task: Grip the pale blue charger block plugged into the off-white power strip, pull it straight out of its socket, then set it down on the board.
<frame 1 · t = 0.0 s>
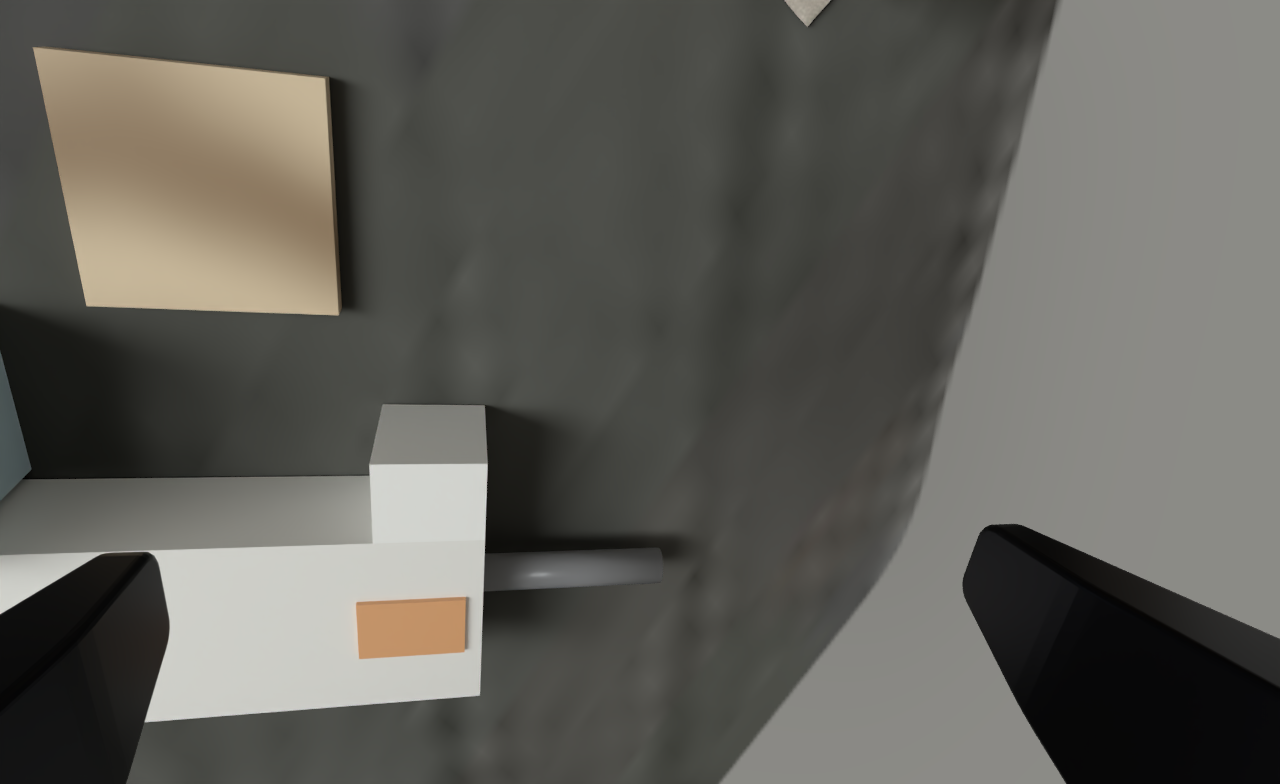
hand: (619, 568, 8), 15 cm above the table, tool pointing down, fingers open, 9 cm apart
power strip: (167, 560, 23), on the table
board: (209, 190, 19), on the table
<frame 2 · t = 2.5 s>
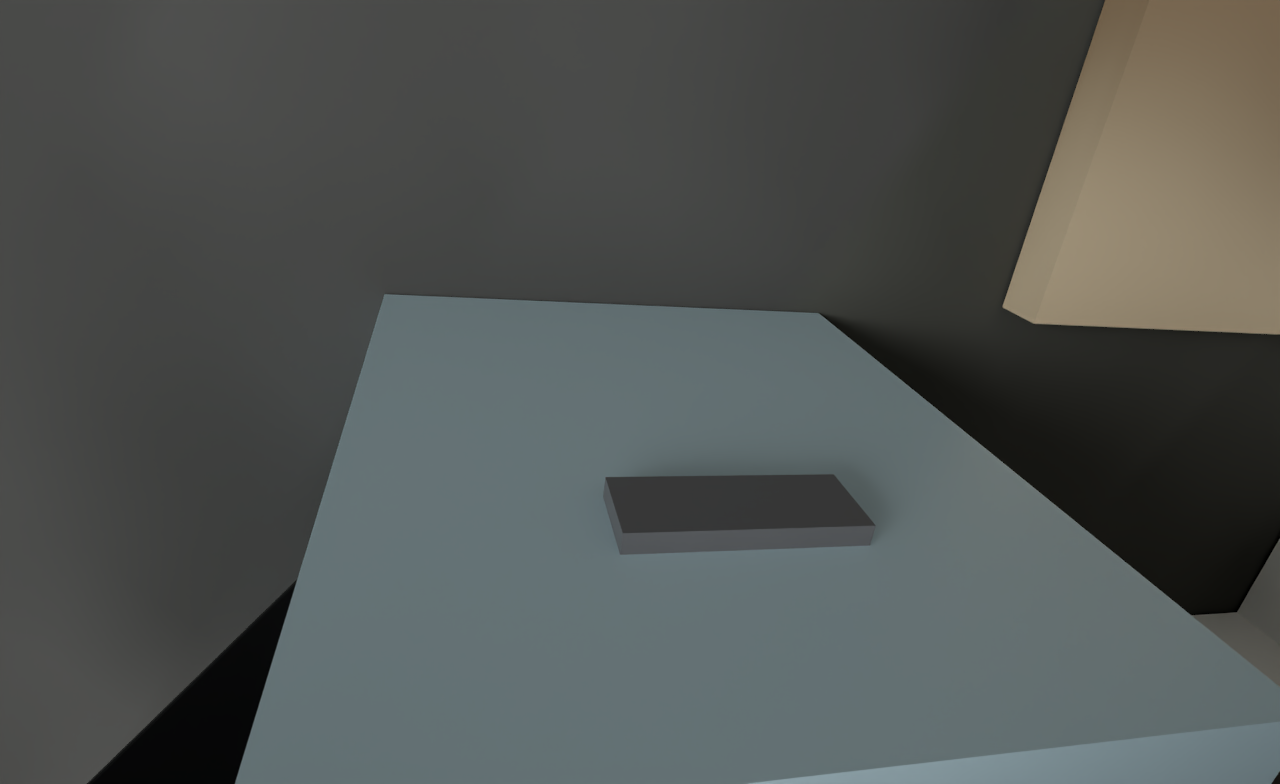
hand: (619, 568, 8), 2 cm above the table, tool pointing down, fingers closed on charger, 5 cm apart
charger: (596, 490, 9), on the table, touching gripper
power strip: (873, 763, 13), on the table
when the fingers open (3 cm above the table, at t = 7.7 s): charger stays where it is, resting on board.
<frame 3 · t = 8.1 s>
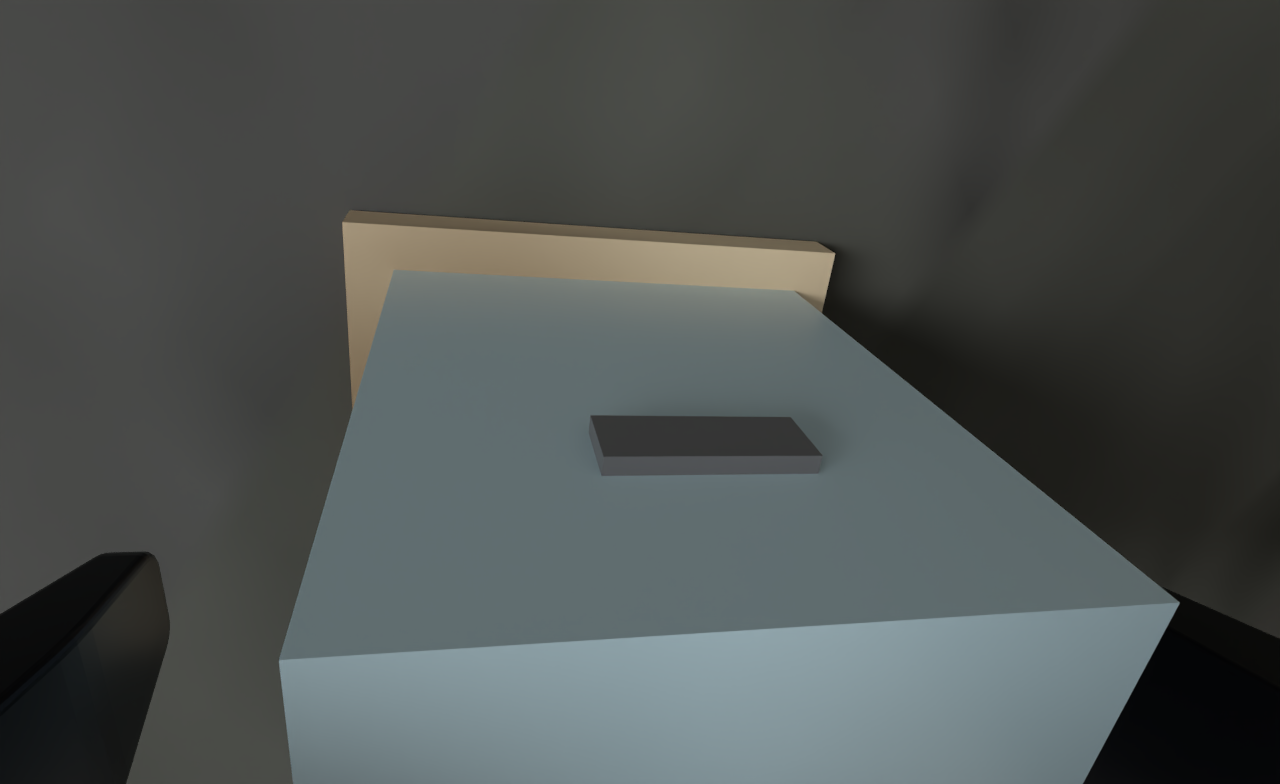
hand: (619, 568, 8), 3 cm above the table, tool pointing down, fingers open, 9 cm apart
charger: (588, 456, 10), point 1 cm above the table, touching board
board: (581, 433, 11), on the table
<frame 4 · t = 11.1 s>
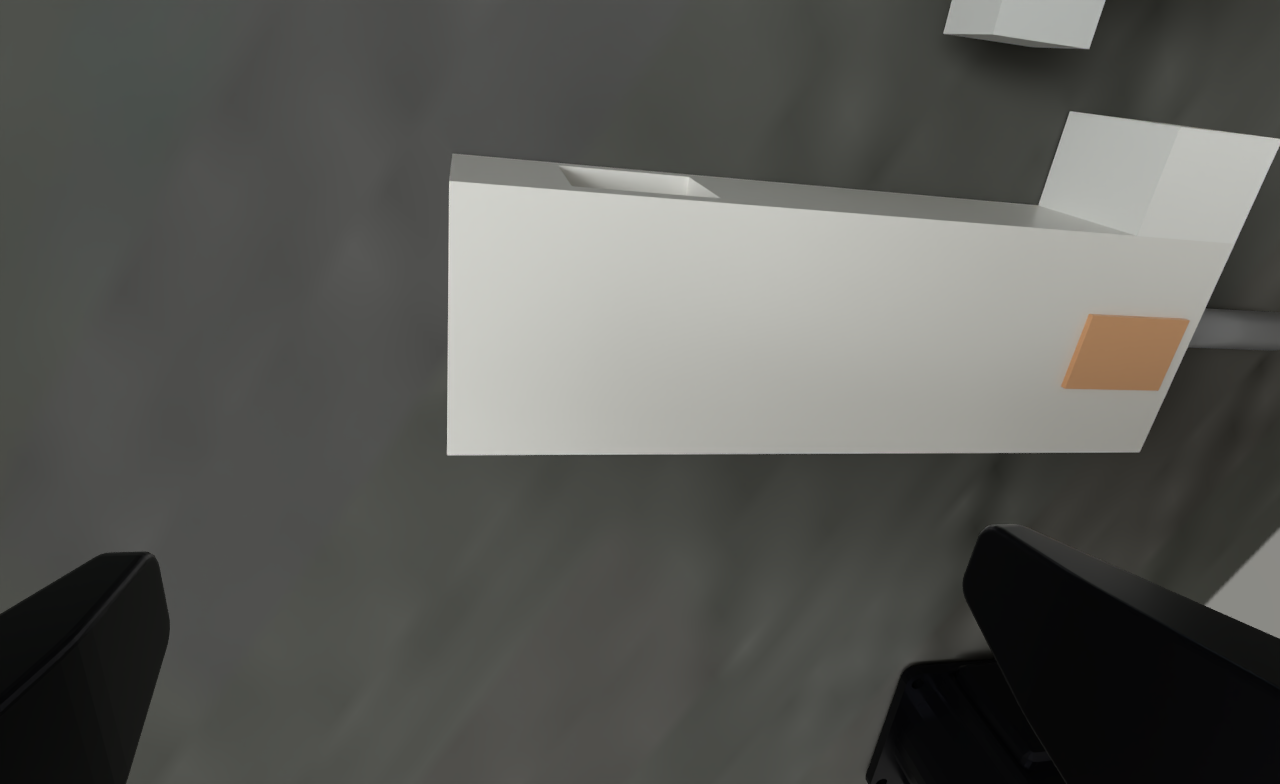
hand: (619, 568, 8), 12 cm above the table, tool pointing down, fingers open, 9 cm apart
power strip: (803, 296, 21), on the table
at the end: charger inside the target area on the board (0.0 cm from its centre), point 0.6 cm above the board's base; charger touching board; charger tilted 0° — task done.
